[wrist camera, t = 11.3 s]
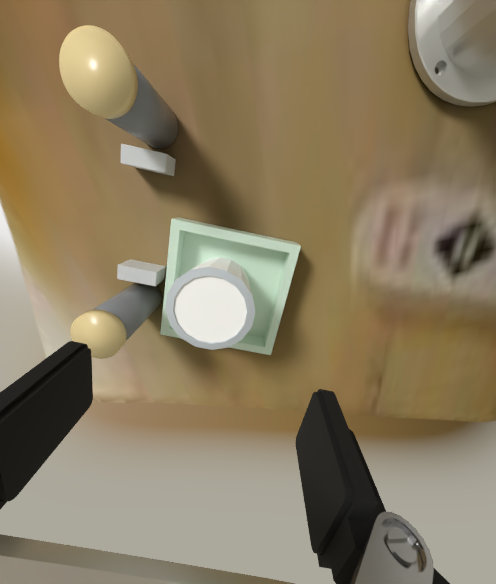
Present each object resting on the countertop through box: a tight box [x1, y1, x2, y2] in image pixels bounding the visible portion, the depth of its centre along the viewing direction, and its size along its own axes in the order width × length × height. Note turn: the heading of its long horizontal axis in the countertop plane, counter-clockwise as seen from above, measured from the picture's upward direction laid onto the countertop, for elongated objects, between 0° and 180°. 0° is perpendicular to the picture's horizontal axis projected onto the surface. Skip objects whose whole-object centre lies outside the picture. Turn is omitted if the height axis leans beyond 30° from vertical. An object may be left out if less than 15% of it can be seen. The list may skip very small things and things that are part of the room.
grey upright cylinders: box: [59, 26, 178, 358], centre depth 19 cm, size 4×20×9 cm, turn 168°
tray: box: [160, 218, 301, 355], centre depth 24 cm, size 12×12×2 cm
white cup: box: [165, 257, 255, 350], centre depth 22 cm, size 7×7×7 cm
